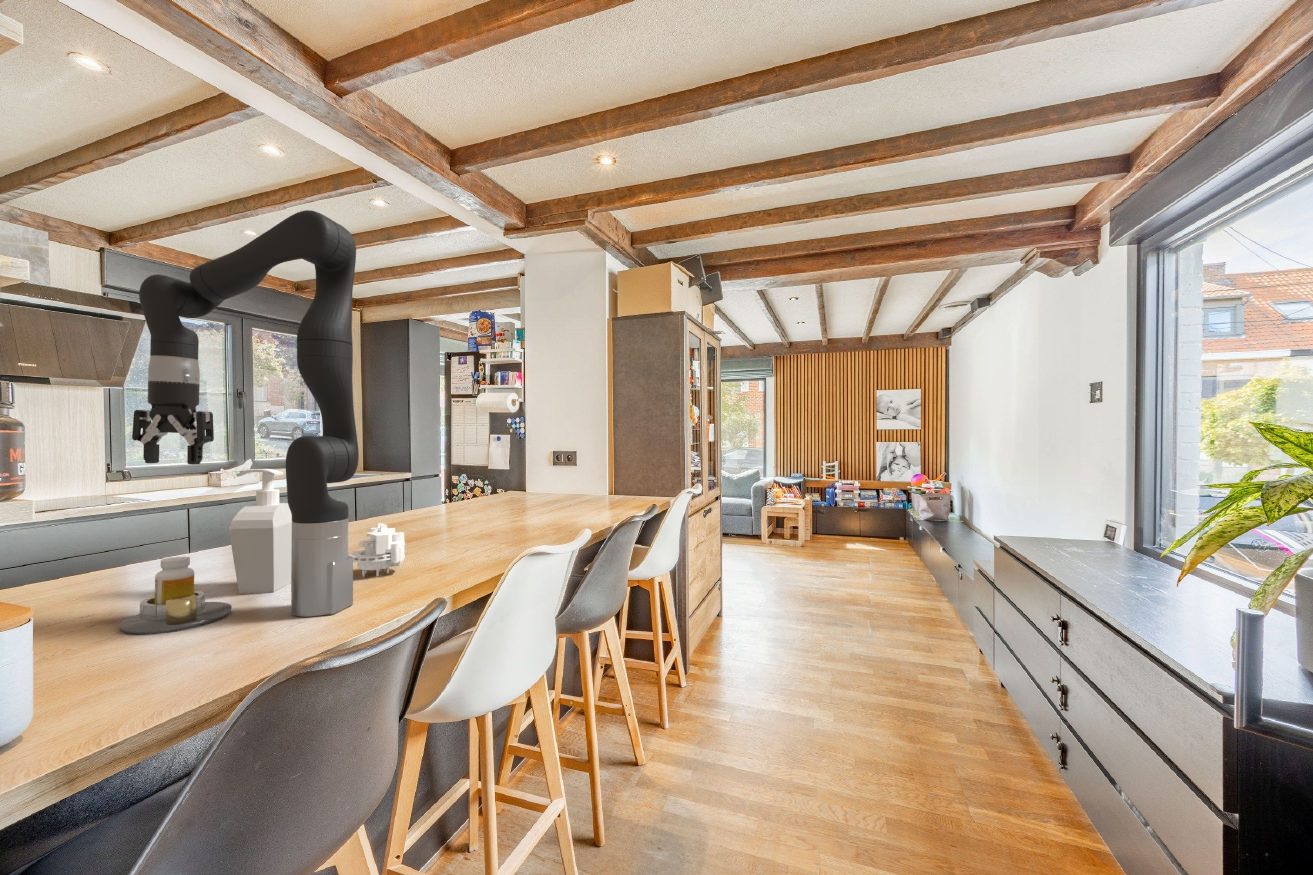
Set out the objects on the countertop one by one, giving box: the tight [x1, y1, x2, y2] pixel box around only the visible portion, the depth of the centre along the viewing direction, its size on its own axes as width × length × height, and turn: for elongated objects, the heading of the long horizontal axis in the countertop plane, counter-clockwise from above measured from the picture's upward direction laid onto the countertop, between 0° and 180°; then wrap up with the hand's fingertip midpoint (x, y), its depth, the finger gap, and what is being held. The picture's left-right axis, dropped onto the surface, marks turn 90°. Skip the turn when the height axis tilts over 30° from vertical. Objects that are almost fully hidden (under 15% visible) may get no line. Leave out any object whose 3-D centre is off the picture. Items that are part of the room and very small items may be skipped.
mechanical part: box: [348, 522, 406, 578], centre depth 128 cm, size 11×12×12 cm
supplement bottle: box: [154, 555, 195, 604], centre depth 98 cm, size 5×5×10 cm
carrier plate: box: [119, 590, 233, 636], centre depth 96 cm, size 15×15×5 cm
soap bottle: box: [228, 468, 292, 595], centre depth 116 cm, size 12×10×26 cm
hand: (172, 463), depth 104 cm, fingers open, 8 cm apart
